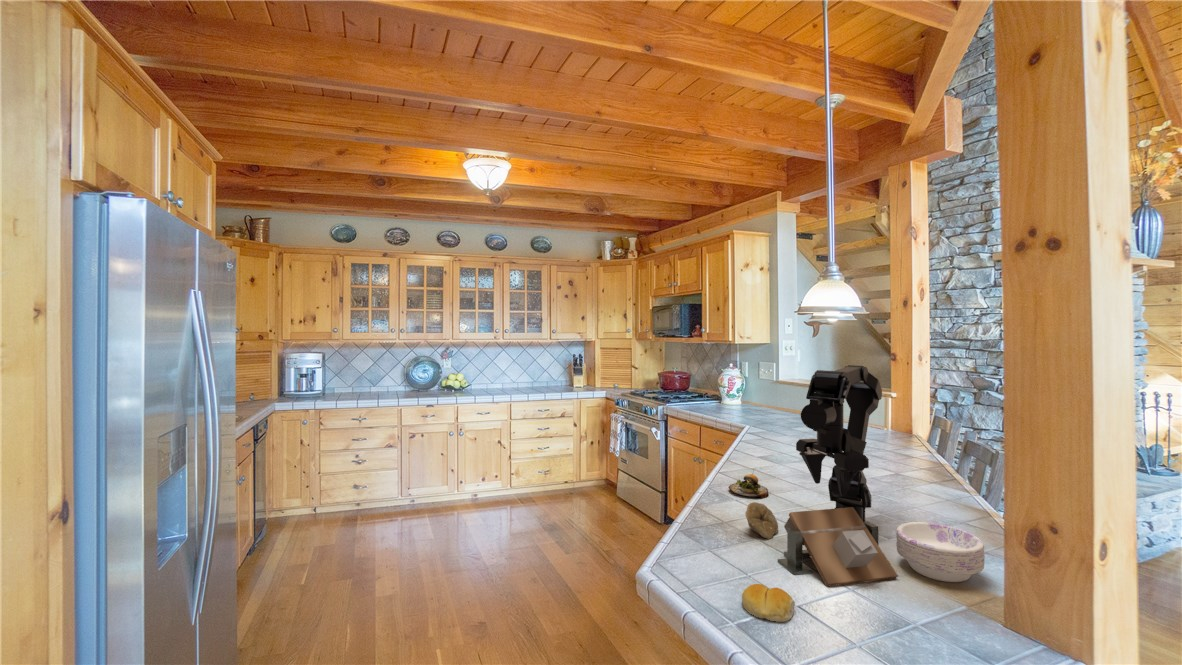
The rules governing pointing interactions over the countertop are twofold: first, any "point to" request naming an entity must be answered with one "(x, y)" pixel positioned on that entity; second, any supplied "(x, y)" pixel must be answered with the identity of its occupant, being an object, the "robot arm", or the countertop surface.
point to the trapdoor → (819, 541)
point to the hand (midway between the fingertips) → (829, 489)
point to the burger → (749, 487)
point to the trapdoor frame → (796, 553)
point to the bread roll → (768, 603)
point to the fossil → (761, 520)
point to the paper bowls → (940, 551)
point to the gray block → (854, 548)
